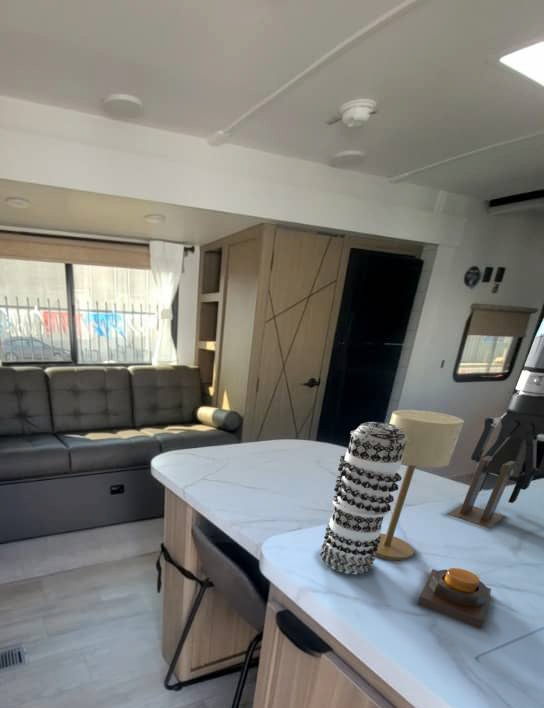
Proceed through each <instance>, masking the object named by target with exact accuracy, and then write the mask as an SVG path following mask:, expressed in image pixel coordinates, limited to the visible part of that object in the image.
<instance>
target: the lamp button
mask: <svg viewBox="0 0 544 708" xmlns="http://www.w3.org/2000/svg"><path fill="white" fill-rule="evenodd" d="M447 570H448V571H447V573H446V576H445V578H444V582H445V583H446V584H448V585H449V586H451V587H453V588H455V589H458V590H461V591H464V592H474V591H475V590H476V588H477V586H478V584H479V581H481V580H480V578H479V576H477V575H476V574H475V573H473V572H472V571H470V570H466V569H463V568H458V567H451V568H449V569H447Z"/></svg>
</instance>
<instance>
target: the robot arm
mask: <svg viewBox="0 0 544 708" xmlns="http://www.w3.org/2000/svg"><path fill="white" fill-rule="evenodd" d="M515 390H516V392H514V393H513V394H512V395H511V398H510V401H509V404H508V406H507V408H506V411H505V412H504V413H503V415H501V416H497V417H496V416H489V417H486V418H485V419H484V428H483V431H482V433H481V435H480V437H479V439H478V441H477V444H476V446H475V448H474V450H473V452H472V455H471V457H470V460H472V461H474V462H476V463H477V464H478V463H479V462H480V459H482V458H484V457H486V456H492V457H493V458H494V457H495V455H496V454H497V453H498V452H499V451H500V449H502V447H503V446H504V445H505V444H506V442H507V441H508V440H509V439H510V438H518V439H521V440H524V445H525V467H524V470H525V471H524V472H522V473H520V474H519V475H518V477H519V478H518V481H517V482H515V485H514V487H513V490H512V492H511V494H510V497H509V499H508V503H511V504H513V503H515V502H516V501H517V499H518V497H519V494H520V492H521V490H523V491H526V490H527V489H528V488H529V487H530V485H531V483H532V480H533V478H534V477H535V476H536V477H537V476H540V477H542V476H544V454H543V455H542V458H541V461H540V463H539V464H540V465H539V466H538V468H537V446H538V445H537V444H538V436H539V435H541V434H543V433H544V318H543V319H542V322H541V323H540V326H539V328H538V330H537V332H536V335H535V337H534V339H533V342H532V345H531V348H530V350H529V353H528V355H527V358H526V361H525V363H524V366H523V368H522V371H521V372H520V376H519V378H518V380H517V383H516V386H515ZM499 423H500V424H501V427H502V429H503V432H502V434H501V435H499V438H498V439H497V440H496V441H495V442H494V444H492V446H491V447H490V448H489V449H488V450H487V452H486V453H484V451H485V448H486V447H487V445H488V443H489V441H490V438H491V436H492V434H493V433H494V430H495V428H496V427H498V426H499ZM483 453H484V455H483ZM487 478H488V475H487V474H486V476H485V478H484V481H483V483H482V486H481V488H480V491H479V493H480V492H482V490H483V488H484V485H485V482H486V481H487Z"/></svg>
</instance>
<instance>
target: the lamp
mask: <svg viewBox="0 0 544 708" xmlns="http://www.w3.org/2000/svg"><path fill="white" fill-rule="evenodd" d="M464 423H465V420H464V419H463V418H461V417H458V416H455V415H451V414H447V413H443V412H437V411H430V410H429V411H428V410H419V409H418V410H417V409H398V410H394V411H392V413H391V416H390V420H389V423H388V424H392V425H395V426H398V427H400V428H401V429H402V430H403V432H404V435H405V437H407V438H408V439H409V442H406V444H405V447H404V451H403V454H402V457H401V458H402V462H401V465H402V464H403V465H407V466H406V469H405V473H404V475H403V477H402V480H401V481H402V482H401V484H400V488H399V491H398V495H397V498H396V501H395V505H394V506H393V507H394V508H393V511H392V514H391V517H390V521H389V524H388V527H387V530H386V533H381V532H380V535H379V536H380V537H381V539H380V543H378V547H377V549H378V550H377V551H376V552H374V553H375V554H376V556H375V557H377V558H379V559H382V560H387V561H393V562H401V560H408V559H410V558H412V557H413V556H414V554H415V550H414V547H413V546H412V545H411V544H410V543H408V542H407V541H405V540H403V539H401V538H399V537H397V536H394V535H395V532H396V529H397V526H398V522H399V520H400V517H401V514H402V510H403V508H404V504H405V501H406V497H407V494H408V491H409V489H410V485H411V482H412V480H413V476H414V473H415V470H416V467H418V468H419V467H420V468H431V469H433V468H434V469H437V468H439V469H440V468H445V467H448V466H449V465H450V463H451V459H452V456H453V454H454V451H455V448H456V445H457V442H458V440H459V437H460V434H461V431H462V428H463V426H464Z"/></svg>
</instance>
